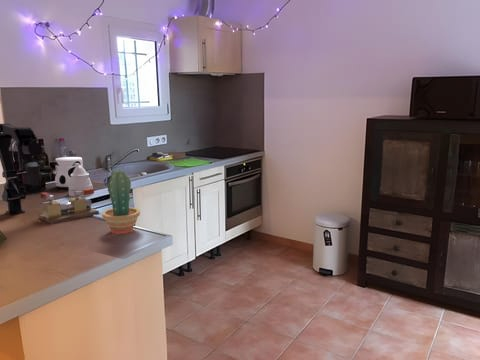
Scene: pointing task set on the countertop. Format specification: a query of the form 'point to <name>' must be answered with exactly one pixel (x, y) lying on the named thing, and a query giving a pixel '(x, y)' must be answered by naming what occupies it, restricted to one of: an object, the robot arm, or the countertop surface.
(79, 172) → the honey pot
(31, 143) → the robot arm
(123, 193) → the potted cactus
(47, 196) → the valve lever
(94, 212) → the beige flat board
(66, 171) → the milk container
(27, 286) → the countertop surface
